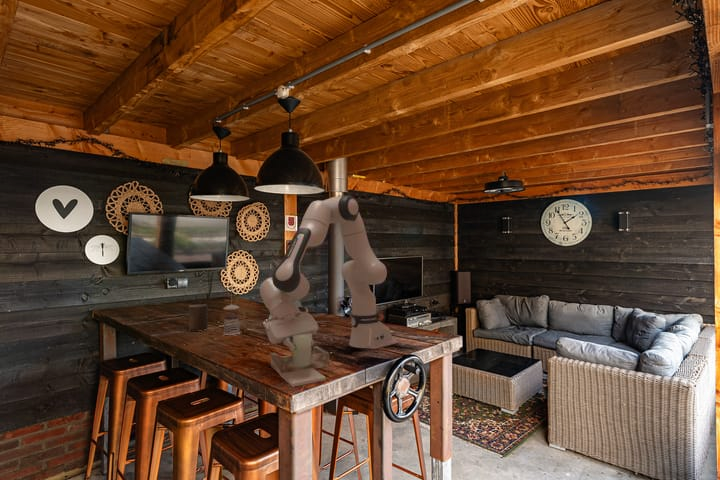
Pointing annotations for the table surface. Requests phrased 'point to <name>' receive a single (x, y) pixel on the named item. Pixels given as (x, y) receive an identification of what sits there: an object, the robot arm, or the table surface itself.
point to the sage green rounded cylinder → (302, 349)
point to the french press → (228, 320)
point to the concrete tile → (302, 377)
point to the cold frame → (286, 365)
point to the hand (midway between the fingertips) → (303, 347)
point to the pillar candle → (198, 317)
